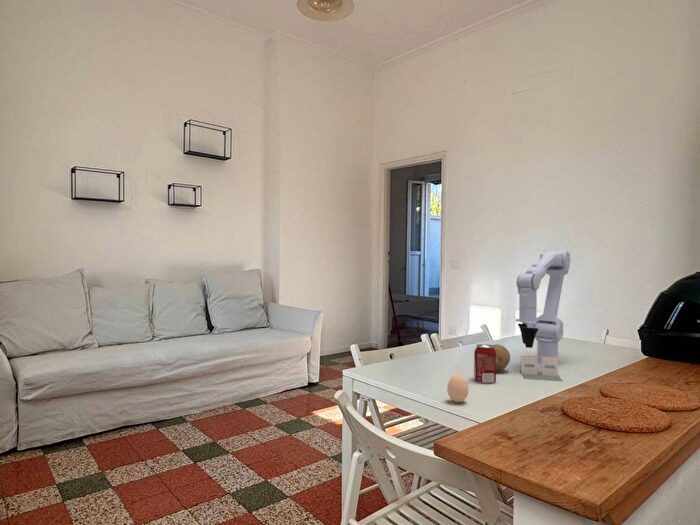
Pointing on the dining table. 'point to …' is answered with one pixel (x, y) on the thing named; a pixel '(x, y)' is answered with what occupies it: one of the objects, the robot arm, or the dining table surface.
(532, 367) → the tile
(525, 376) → the mat
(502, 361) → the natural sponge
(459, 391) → the egg
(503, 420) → the dining table surface
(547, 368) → the tile
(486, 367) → the soda can
